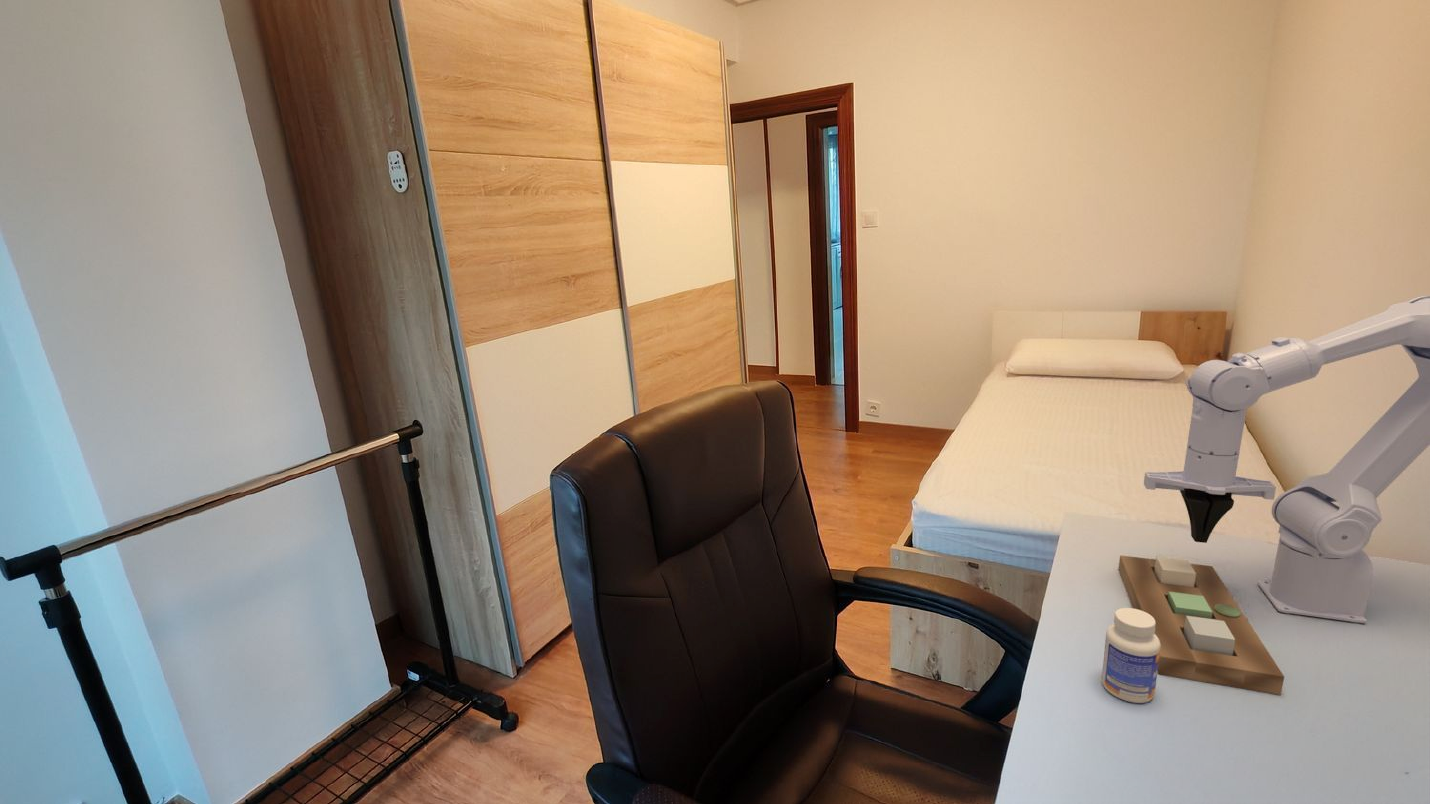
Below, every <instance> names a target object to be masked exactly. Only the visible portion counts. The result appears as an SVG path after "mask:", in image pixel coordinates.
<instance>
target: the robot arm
mask: <svg viewBox="0 0 1430 804" xmlns="http://www.w3.org/2000/svg"><path fill="white" fill-rule="evenodd" d="M1397 345H1400V346H1402V348H1403V349H1404V351H1405V353H1406V354H1407V355H1408V356H1409V358H1410V359H1411V360H1412V362H1413V363H1414V364H1415V368H1416V371H1417V374H1418V378H1417V379H1416V380H1415V381H1414V382H1413V383H1412V384H1411V385H1410V386H1409V387H1408V389H1407V390H1406V391H1405V392H1404V393H1403V394H1402V395H1401V396H1400V397H1399V398H1398V399H1396V401H1395V402H1394V403H1393V404H1392V405H1391V406H1390V407H1389V408H1388V409H1387V411H1386V412H1385V413H1384V414H1383V415H1382V416H1381V417H1380V418H1379V419H1378V420H1377V421H1376V422H1375V423H1374V424H1373V425H1371V427H1370V428H1369V430H1368V431H1367V432H1366V433H1365V434H1364V435H1363V436H1362V437H1361V438H1360V439H1359V440H1358V441H1357V442H1356V443H1355V444H1354V445H1353V446H1352V447H1351V448H1350V449H1349V451H1348V452H1346V454H1345V455H1344V456H1343V457H1341V459H1340V460H1339V461H1338V462H1337V463H1336V464H1335V465H1334V466H1333V467H1332V468H1331V469H1330V470H1329V471H1328V472H1327V473H1323V474H1318V475H1313V476H1308V477H1305V478H1303V479H1302V481H1300V483H1298V484H1297V485H1296V486H1294V487H1293V488H1289V489H1288V490H1286V491H1284V492H1282V493H1281V494H1280V495H1278V497H1276V499H1275V495H1276V492H1277V490H1276V489H1277V486H1276V485H1275V484H1274V483H1273V482H1272V481H1270V480H1261V479H1254V478H1248V477H1241V476H1236V475H1237V471H1238V469H1237V468H1238V463H1239V459H1240V451H1241V445H1242V439H1243V433H1244V428H1245V421H1246V414H1247V410H1248V409H1249V408H1251V407H1253V406H1254V405H1255V404H1256V403H1257V402H1258V401H1259V400H1260V398H1261V397H1262V396H1263V395H1266V394H1268V393H1271V392H1275V391H1278V390H1280V389H1284V388H1287V387H1290V386H1293V385H1296V384H1300V383H1302V382H1305V381H1308V380H1311V379H1313V378H1316V377H1317V375H1318V374H1319V373H1320V371H1321V370H1322V367H1323V366H1324V365H1328V364H1331V363H1334V362H1335V363H1336V362H1338V361H1342V360H1346V359H1350V358H1353V357H1357V356H1360V355H1364V354H1367V353H1371V352H1375V351H1378V350H1381V349H1385V348H1388V347H1392V346H1397ZM1185 383H1186V384H1185V386H1186V388H1187V391H1188V393H1190V394H1191V396H1192V399H1193V400H1192V411H1191V416H1190V422H1189V423H1190V425H1189V432H1188V435H1187V436H1188V437H1187V445H1186V451H1185V457H1184V458H1185V459H1184V464H1183V471H1162V472H1161V471H1157V472H1156V471H1151V472H1150V471H1144V472H1145V473H1144V479H1143V486H1144V488H1145V489H1146V490H1151V491H1154V490H1156V489H1161V490H1175V491H1179V492H1180V494H1181V497H1182V499H1183V501H1184V504H1185V507H1186V510H1187V515H1188V518H1189V523H1190V537H1191V538H1192V540H1193V541H1194V542H1196V543H1204V544H1207V543H1208V541H1209V538H1210V536H1211V535H1212V532H1213V530H1214V529H1215V528H1216V525H1217V524H1218V523H1219V522H1220V521H1221V519H1222V518H1223V517H1224V516H1225V515H1226V514H1227V513H1228V512H1229V511H1230V510H1232V509H1233V507H1234V504H1235V500H1234V498H1233V497H1232V496H1233V495H1235V496H1247V497H1259V498H1262V499H1264V500H1271V501H1272V500H1274V501H1273V504H1272V506H1271V515H1272V518H1273V520H1274V522H1275V523H1277V524H1278V525H1279V527H1278V528H1279V529H1278V533H1279V538H1278V539H1279V540H1278V544H1277V550H1276V554H1275V559H1274V560H1275V561H1274V564H1273V569H1272V576H1271V581H1269V580H1268V581H1266V580H1258V581H1257V584H1258V586H1259V587H1260V589H1261V590H1262V592H1263V593H1264V594H1265V595H1266V597H1267V598H1268V599H1269V601H1270V602H1271V604H1272V605H1273V606H1274V607H1275V609H1276V611H1278V612H1280V613H1286V614H1292V615H1299V616H1300V615H1302V616H1309V617H1315V618H1322V619H1329V620H1331V619H1332V620H1339V621H1345V622H1353V623H1359V624H1366V623H1367V620H1368V619H1366V617H1365V613H1366V609H1367V605H1368V601H1369V596H1370V592H1371V588H1372V583H1373V579H1374V572H1373V571H1374V570H1373V569H1374V568H1373V562H1371V559H1370V556H1369V555H1368V553H1366V552H1365V551H1364V550H1363V549H1365V548H1366V546H1367V545H1368V544H1369V542H1370V539H1371V537H1372V534H1373V531H1374V529H1375V528H1376V527H1377V526H1378V525H1379V524H1380V523H1381V522H1382V520H1383V516H1382V513H1381V511H1380V508H1379V504H1378V500H1377V498H1379V496H1380V495H1381V494H1383V492H1384V491H1385V490H1387V489H1388V487H1389V486H1390V485H1392V483H1393V482H1394V481H1396V479H1398V477H1400V475H1402V473H1403V472H1404V471H1405V470H1406V469H1407V468H1409V467H1410V465H1411V464H1412V463H1414V461H1415V460H1417V458H1418V457H1419V456H1420V455H1421V454H1422V453H1423V452H1424V451H1426V450H1427V448H1428V447H1430V295H1423V296H1422V295H1421V296H1418V297H1414V298H1412V299H1410V300H1408V301H1406V302H1405V301H1403V302H1398V303H1395V304H1391V305H1390V306H1389V307H1388V308H1386V310H1384V311H1382V312H1380V313H1376V314H1375V315H1373V316H1372V315H1371V316H1370V317H1367V318H1364V319H1362V320H1359V321H1357V322H1355V323H1352V324H1349V325H1347V326H1343V327H1342V328H1339V329H1337V330H1334V331H1332V332H1329V333H1326V334H1323V335H1320V336H1319V337H1316V338H1313V339H1311V340H1308V341H1306V340H1305V339H1303V338H1298V337H1289V338H1288V337H1283V336H1279V337H1276V338H1273V339H1271V344H1269V345H1266V346H1263V347H1260V348H1257V349H1255V350H1251V351H1248V352H1246V353H1243V352H1236V353H1234V354H1232V355H1231V358H1230V359H1229V360H1227V361H1226V360H1222V359H1221V360H1220V359H1211V360H1207V361H1205V362H1203V363H1201V364H1199V365H1198V366H1197V368H1195V369H1194V370H1193V372H1192V373H1191V376H1190V377H1189V378H1186V380H1185ZM1335 502H1337V503H1338V504H1339V505H1336V504H1334V503H1335Z"/></svg>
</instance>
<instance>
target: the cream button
mask: <svg viewBox="0 0 1430 804" xmlns="http://www.w3.org/2000/svg"><path fill="white" fill-rule="evenodd" d="M1155 559H1156V561H1155V569H1154V574H1155V576H1156V579H1157V581H1158V583H1164V584H1172V585H1180V586H1187V587H1194V583H1195V577H1196V573H1195V571H1194V569H1193V568H1192V566H1191V564H1192V563H1191V562H1190V561H1189V559H1181V558H1173V557H1164V556H1155Z"/></svg>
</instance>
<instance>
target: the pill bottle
mask: <svg viewBox="0 0 1430 804" xmlns="http://www.w3.org/2000/svg"><path fill="white" fill-rule="evenodd" d="M1155 625H1156V622H1155V619H1154V618H1153V617H1152V616H1151V615H1149V614H1148V613H1146V612H1144V611H1141V610H1138V609H1133V607H1132V608H1131V607H1121V608H1119V609H1117V610H1116V611H1115V613H1114V618H1113V624H1111V625H1110V626H1109V627H1108V628H1107V630H1106V633H1105V642H1104V653H1103V655H1104V656H1103V662H1102V663H1103V664H1102V673H1101V683H1102V685H1103V687H1104V688H1105V690H1106V691H1107V692H1108V693H1109V694H1111V695H1112V696H1114V697H1116V698H1117V699H1121V700H1123V701H1125V702H1128V703H1135V704H1144V703H1145V704H1146V703H1148V702H1151V701H1152V699H1154V696H1155V692H1156V686H1157V685H1156V684H1157V678H1158V672H1157V671H1158V664H1159V656H1160V647H1161V644H1160V640H1159V639H1158V637H1157V636H1156V635H1155V634H1154V633H1155Z"/></svg>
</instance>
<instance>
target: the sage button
mask: <svg viewBox="0 0 1430 804" xmlns="http://www.w3.org/2000/svg"><path fill="white" fill-rule="evenodd" d="M1167 602H1168V604H1169V606H1170V608H1171V610H1172V612H1173V613H1175V614H1182V615H1189V616H1196V617H1203V618H1210V619H1212V613H1213V612H1212V610H1211V609H1210V607H1209V605H1208V603H1207V602H1206V600H1205V598H1204V596H1198V595H1191V594H1183V593H1176V592H1169V594H1168V601H1167Z"/></svg>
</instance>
